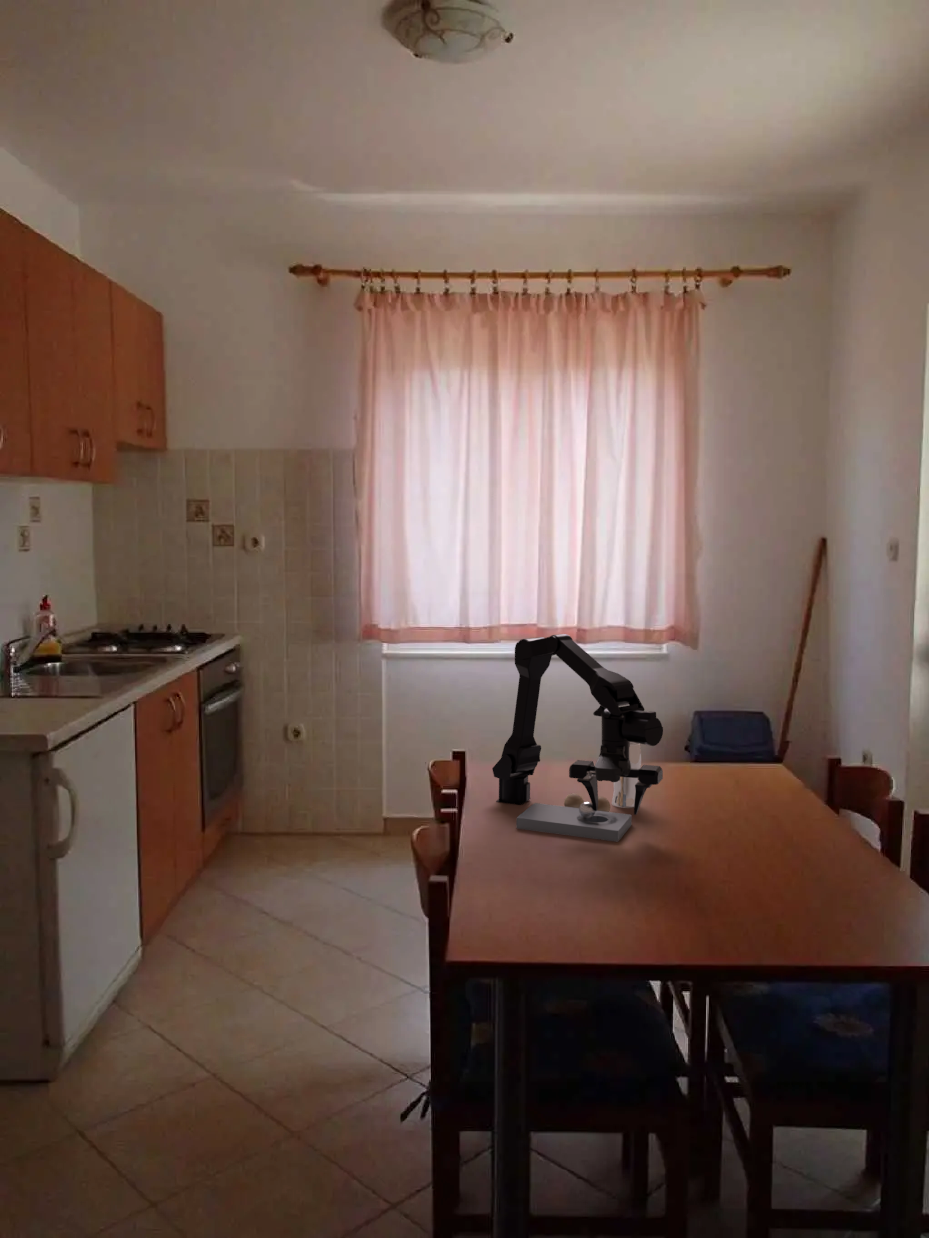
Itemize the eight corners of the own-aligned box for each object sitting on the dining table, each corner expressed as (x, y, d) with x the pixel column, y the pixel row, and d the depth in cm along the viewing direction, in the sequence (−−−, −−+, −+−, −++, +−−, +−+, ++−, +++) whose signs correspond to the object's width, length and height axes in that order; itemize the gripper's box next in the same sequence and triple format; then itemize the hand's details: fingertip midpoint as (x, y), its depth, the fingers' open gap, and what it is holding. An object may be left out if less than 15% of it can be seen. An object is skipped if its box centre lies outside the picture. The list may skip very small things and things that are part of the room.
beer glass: (642, 809, 214) (643, 745, 212) (611, 809, 214) (613, 744, 212) (637, 800, 221) (638, 738, 219) (607, 800, 221) (608, 738, 219)
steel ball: (593, 807, 196) (589, 822, 197) (599, 803, 199) (596, 818, 200) (578, 801, 198) (574, 816, 198) (584, 797, 201) (581, 812, 201)
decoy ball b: (587, 817, 207) (587, 798, 207) (592, 812, 211) (593, 792, 211) (607, 820, 205) (607, 800, 205) (612, 814, 209) (612, 795, 209)
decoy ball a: (561, 814, 209) (561, 795, 209) (567, 809, 213) (567, 790, 213) (580, 817, 208) (581, 797, 207) (586, 811, 212) (586, 792, 211)
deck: (516, 829, 199) (516, 817, 199) (534, 813, 210) (534, 802, 210) (618, 842, 190) (618, 830, 190) (631, 825, 201) (631, 814, 201)
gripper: (561, 743, 191) (561, 818, 192) (652, 749, 184) (652, 827, 185) (576, 733, 201) (576, 804, 202) (663, 738, 194) (663, 812, 195)
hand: (615, 812), depth 196 cm, fingers open, 8 cm apart
